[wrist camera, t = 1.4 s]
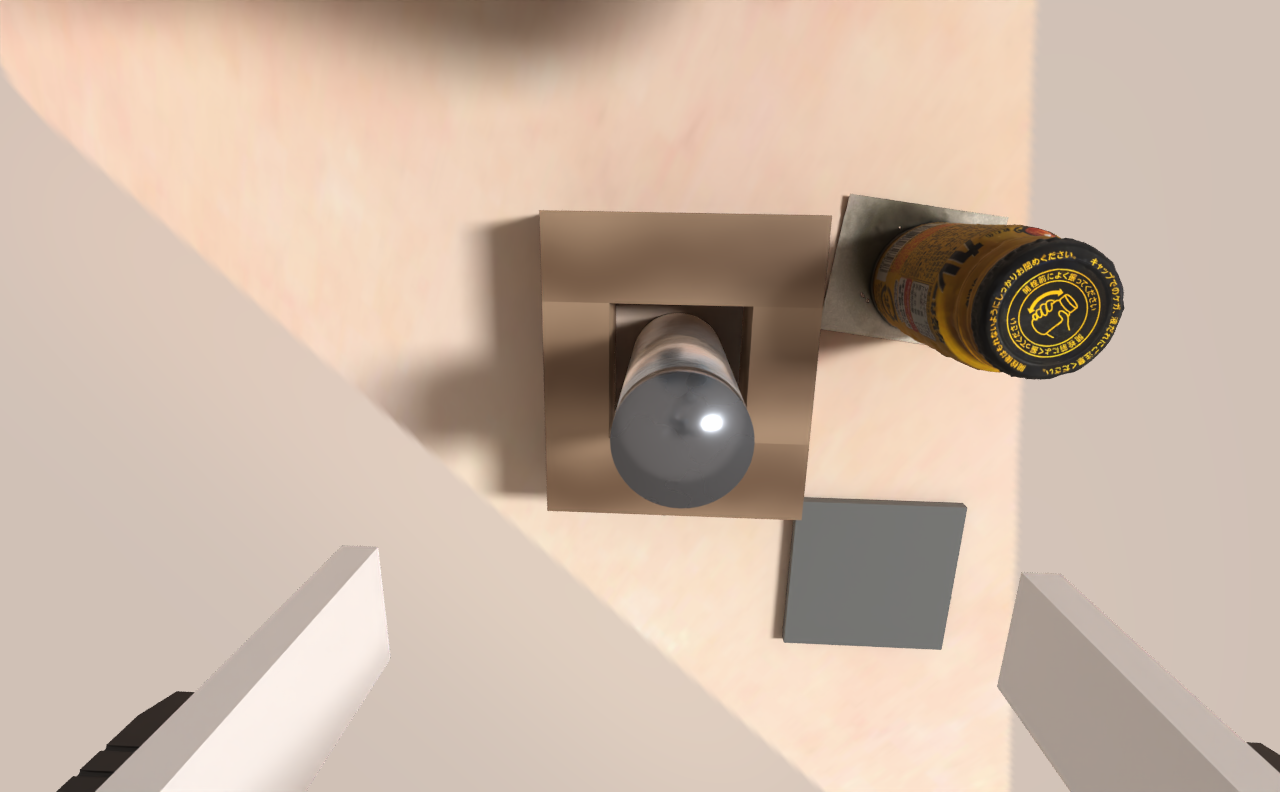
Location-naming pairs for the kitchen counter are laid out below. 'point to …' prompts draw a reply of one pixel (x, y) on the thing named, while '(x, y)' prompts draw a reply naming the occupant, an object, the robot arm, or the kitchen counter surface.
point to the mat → (872, 572)
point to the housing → (680, 275)
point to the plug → (681, 417)
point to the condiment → (972, 288)
